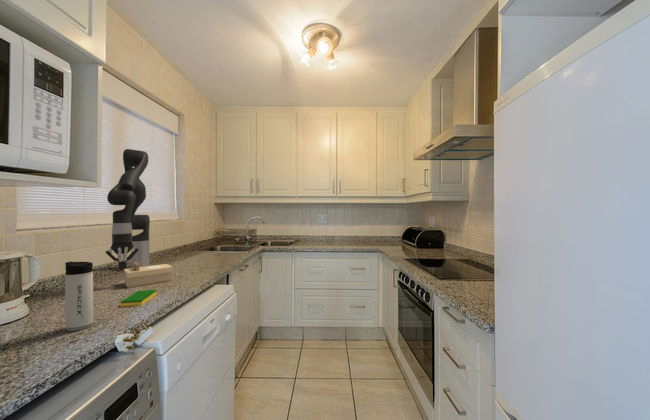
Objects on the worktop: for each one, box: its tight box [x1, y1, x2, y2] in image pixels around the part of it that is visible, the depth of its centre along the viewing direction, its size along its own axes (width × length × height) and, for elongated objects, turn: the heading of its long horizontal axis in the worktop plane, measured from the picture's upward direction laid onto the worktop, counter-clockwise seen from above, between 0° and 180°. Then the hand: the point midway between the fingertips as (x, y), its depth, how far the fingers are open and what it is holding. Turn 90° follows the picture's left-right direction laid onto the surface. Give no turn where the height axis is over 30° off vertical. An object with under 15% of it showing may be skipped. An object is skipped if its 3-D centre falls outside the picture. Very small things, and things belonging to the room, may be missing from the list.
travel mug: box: [64, 261, 94, 332], centre depth 82 cm, size 6×7×20 cm
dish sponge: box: [120, 289, 158, 308], centre depth 106 cm, size 7×14×2 cm, turn 12°
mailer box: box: [124, 272, 173, 289], centre depth 133 cm, size 10×18×6 cm, turn 133°
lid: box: [123, 262, 174, 278], centre depth 133 cm, size 12×19×5 cm, turn 133°
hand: (122, 269), depth 126 cm, fingers closed
